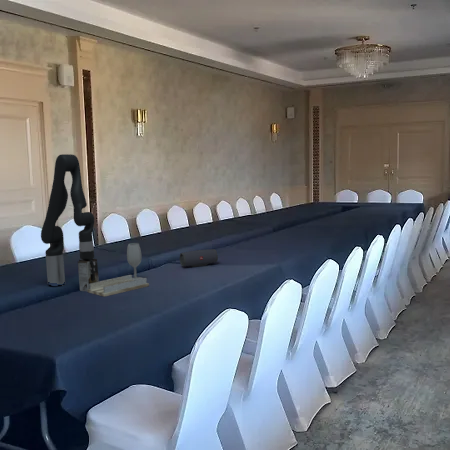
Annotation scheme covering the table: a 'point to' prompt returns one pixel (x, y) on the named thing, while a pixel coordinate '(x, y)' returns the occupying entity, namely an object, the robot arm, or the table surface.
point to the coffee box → (86, 274)
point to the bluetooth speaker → (198, 257)
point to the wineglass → (134, 257)
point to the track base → (116, 285)
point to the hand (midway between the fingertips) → (88, 279)
